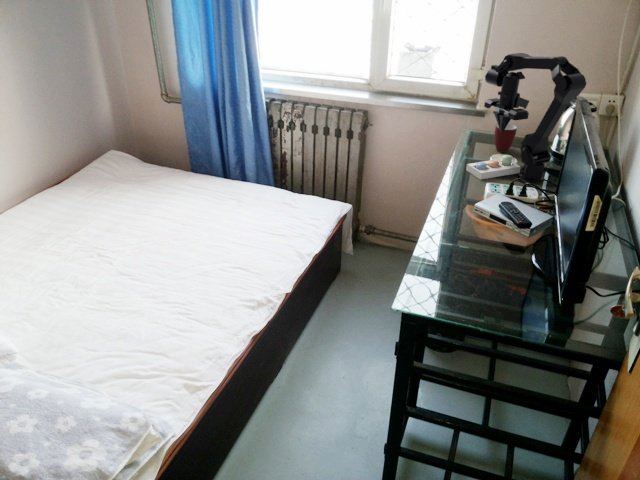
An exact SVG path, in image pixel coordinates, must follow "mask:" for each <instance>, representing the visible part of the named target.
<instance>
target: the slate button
mask: <svg viewBox="0 0 640 480" xmlns="http://www.w3.org/2000/svg"><path fill="white" fill-rule="evenodd" d="M476 163H477V162H476ZM486 166H487V164H486V163H483V161H478V163H477V164H476V169H478V170H485V169H486Z"/></svg>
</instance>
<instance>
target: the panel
mask: <svg viewBox="0 0 640 480" xmlns="http://www.w3.org/2000/svg"><path fill="white" fill-rule="evenodd" d="M491 160H492V159H491ZM491 160H484V161H482V162H483V163H486V164H487V166H486V169H485V170H478V169H476V164H477V163H478V162H479V161H478V162H477V161H476V162H472V163H471V162H469V163H466V167H465V168H466V169H465V170H466V171H467V172H468V173H469V174H471V175H472V176H474V177H475V178H477V179H479V180H485V179H491V178H497V177H503V176H509V175H515V174H520V172H521V166H520V165H519V164H517V163H514V162H513V161H512V165H510V166H504V165H502V164H499V167H497V168H491V167H489V161H491Z"/></svg>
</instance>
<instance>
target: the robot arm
mask: <svg viewBox="0 0 640 480" xmlns="http://www.w3.org/2000/svg"><path fill="white" fill-rule="evenodd" d="M527 69H533V70H549V71H550V72H551V80H552V81H553V84H554V85H555V86H554V89H553V99H552V101H551V103H550V105H549V106H548V108H547V110H546V112H545V113H544V115H543V117H542V118H541V121H540V122H539V124H538V126H537V127H536V129H535V131H534V132H533V133H528V134H527V133H526V135H525V136H524V138H523V140H522V142H521V143H520V145H521V146H520V158H521V163H523V168H522V173H521V174H520V173H519V174H518V176H519V177H520V178H522V179H523V180H525V181H527V182H529V183H536V182H542V181H545V178H546V177H545V178H544V177H543V173H544V168H545V163H549V162H551V159H552V156H551V154H550V152H549V149H548V148H549V145H550V141H549V137H550V136H551V134H552V132H553V130H554V128H555V127H556V126H557V125H558V122H559V120H560V119H561V117H562V115H563V114H564V112H565V110H566V109H567V107H568V105H569V104H570V102H572V101H573V100H575V99H576V98H577V97H579V95H580V94H581V93H582V92H583V90H585V88H586V85H587V79H586V77H585V76H584V74H582V73H581V71H580V69H579V68H577V67H576V66H574V64H572V63H571V62H570V61H569V60H568V59H567V57H566V56H563V55H562V56H532V55H529V54H528V53H524V52H516V53H508V54H506V55H504V57H503V60H502V61H501V62H500V63H499V65H498V64H491V66H490V69H488V71H487V73H486V74H485V75H484V77H485V82H486V83H487V84H489V85H493V86H496V87H499V88H500V91H497V95H498V96H499V98H497V97H496V98H488V99H486V100H484V106H483V107H484V108H486V109H491V108H492V107H494V111H492V114H493V115H494V117H495V119H496V122H497V123H496V124H498V126H499V129H500V131H501V132H503V131H504V130H505V128H506V127H507V125H508V124H510V121H511V120H513V121H520V120H521V121H522V120H528V118H529V115H530V112H529V111H528V110H526V109H527V108H528V105H529V103H530V100H529V99H526V98H523V97H521V93H520V92H519V91H518V90H519V86H520V81H521V80H525V79H526V76H525V75H524V74H523V71H522V70H527ZM520 70H521V71H520ZM515 71H517V72H515ZM563 74H565V75H563Z"/></svg>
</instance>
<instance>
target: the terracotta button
mask: <svg viewBox="0 0 640 480" xmlns="http://www.w3.org/2000/svg"><path fill="white" fill-rule="evenodd" d="M495 160H496V159H491V161H490V160H488V161H489V167H491V168H497V167H499V162H498V161H495Z"/></svg>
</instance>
